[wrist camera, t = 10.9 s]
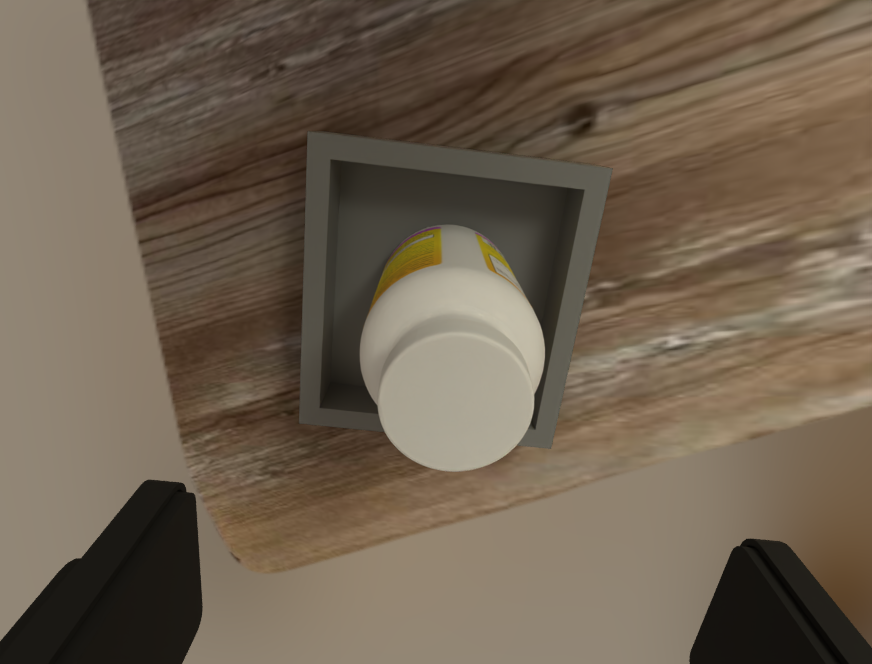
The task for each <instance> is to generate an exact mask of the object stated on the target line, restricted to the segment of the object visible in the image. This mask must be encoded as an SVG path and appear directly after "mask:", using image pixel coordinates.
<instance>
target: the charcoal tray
mask: <svg viewBox="0 0 872 664" xmlns="http://www.w3.org/2000/svg"><path fill="white" fill-rule="evenodd" d="M612 170H613V168H608V167H603V166H599V165H594V164H588V163H580V162H572V161H564V160H555V159H547V158H539V157H531V156H523V155H514V154H506V153H498V152H490V151H482V150H473V149H465V148H457V147H449V146H440V145H432V144H424V143H416V142H408V141H399V140H391V139H383V138H375V137H367V136H358V135H350V134H342V133H334V132H326V131H308V136H307V170H306V204H305V237H304V271H303V305H302V338H301V372H300V405H299V423H300V424H309V425H319V426H329V427H339V428H349V429H359V430H369V431H379V432H385V431H384V429H383V427H382V424H381V421H380V418H379V414H378V406H377V404H376V403H375V402H374V400H373V399H372V397H371V395H370V394H369V392H368V390H367V387H366V385H365V382H364V379H363V376H362V372H361V366H360V342H361V336H362V332H363V327H364V324H365V321H366V318H367V315H368V313H369V310H370V307H371V304H372V301H373V298H374V295H375V292H376V290H377V287H378V284H379V281H380V278H381V276H382V273H383V270H384V268H385V265H386V263H387V261H388V259H389V257H390V256H391V254H392V253H393V251H394V250H395V249H396V248H397V247H398V245H399V244H400V243H401V242H402V241H404V240H405V239H406V238H407V237H409V236H410V235H412V234H414V233H415V232H417V231H419V230H422V229H424V228H427V227H431V226H436V225H458V226H463V227H467V228H470V229H472V230H474V231H476V232H478V233H480V234H482V235H483V236H485V237H486V238H488V239H489V240H490V241H491V242H492V243H493V244H494V245H495V246H496V247H497V248H498V249H499V251H500V252H501V253H502V255H503V256H504V258H505V259H506V261H507V263H508V265H509V266H510V268H511V270H512V272H513V274H514V276H515V278H516V280H517V281H518V283H519V285H520V287H521V289H522V290H523V292H524V294H525V296H526V298H527V300H528V301H529V303H530V305H531V306H532V308H533V310H534V312H535V314H536V316H537V319H538V321H539V323H540V326H541V329H542V333H543V338H544V344H545V361H544V368H543V373H542V376H541V379H540V383H539V385H538V387H537V390H536V392H535V394H534V410H533V415H532V419H531V423H530V425H529V427H528V429H527V431H526V433H525V434H524V436H523V438H522V439H521V440H520V442H519V443H518V444H517V445H518V446H528V447H538V448H548V449H551V447H552V442H553V437H554V433H555V428H556V424H557V419H558V415H559V410H560V406H561V401H562V397H563V392H564V388H565V383H566V378H567V374H568V369H569V365H570V360H571V356H572V351H573V347H574V342H575V338H576V333H577V329H578V324H579V320H580V315H581V310H582V306H583V301H584V297H585V292H586V288H587V283H588V279H589V274H590V270H591V265H592V261H593V256H594V252H595V247H596V242H597V238H598V233H599V229H600V224H601V220H602V215H603V211H604V206H605V202H606V197H607V193H608V188H609V183H610V179H611V174H612Z"/></svg>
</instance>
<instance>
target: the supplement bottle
mask: <svg viewBox="0 0 872 664" xmlns="http://www.w3.org/2000/svg"><path fill="white" fill-rule="evenodd" d="M544 361H545V344H544V338H543V333H542V329H541V326H540V323H539V321H538V319H537V316H536V314H535V312H534V310H533V308H532V306H531V305H530V303H529V301H528V300H527V298H526V296H525V294H524V292H523V290H522V289H521V287H520V285H519V283H518V281H517V280H516V278H515V276H514V274H513V272H512V270H511V268H510V266H509V265H508V263H507V261H506V259H505V258H504V256H503V255H502V253H501V252H500V251H499V249H498V248H497V247H496V246H495V245H494V244H493V243H492V242H491V241H490V240H489V239H488V238H486V237H485V236H483V235H482V234H480V233H478V232H476V231H474V230H472V229H470V228H467V227H463V226H458V225H436V226H431V227H427V228H424V229H422V230H419V231H417V232H415V233H414V234H412V235H410V236H409V237H407V238H406V239H405V240H404V241H402V242H401V243H400V244H399V245H398V247H397V248H396V249H395V250H394V251H393V253H392V254H391V256H390V257H389V259H388V261H387V263H386V265H385V268H384V270H383V273H382V276H381V278H380V281H379V284H378V287H377V290H376V292H375V295H374V298H373V301H372V304H371V307H370V310H369V313H368V315H367V318H366V321H365V324H364V327H363V332H362V336H361V342H360V366H361V372H362V376H363V379H364V382H365V385H366V387H367V390H368V392H369V394H370V395H371V397H372V399H373V400H374V402H375V403H376V404H377V406H378V414H379V418H380V421H381V424H382V427H383V429H384V431H385V433H386V435H387V437H388V438H389V440H390V441H391V442H392V443H393V445H394V446H395V447H396V448H397V449H398V450H399V451H400V452H401V453H403V454H404V455H405V456H407V457H408V458H410V459H411V460H413V461H415V462H417V463H419V464H421V465H423V466H426V467H429V468H432V469H436V470H442V471H451V472H460V471H468V470H473V469H478V468H481V467H484V466H487V465H489V464H491V463H494V462H496V461H498V460H499V459H501V458H502V457H504V456H505V455H506V454H508V453H509V452H510V451H511V450H512V449H513V448H514V447H515V446H516V445H517V444H518V443H519V442H520V440H521V439H522V438H523V436H524V434H525V433H526V431H527V429H528V427H529V425H530V423H531V419H532V415H533V410H534V394H535V392H536V390H537V387H538V385H539V383H540V379H541V376H542V373H543V368H544Z"/></svg>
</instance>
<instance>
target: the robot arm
mask: <svg viewBox="0 0 872 664" xmlns="http://www.w3.org/2000/svg"><path fill="white" fill-rule="evenodd" d="M201 617H202V592H201V575H200V559H199V544H198V528H197V512H196V498H195V495H194V493H188V492H186V487H185V485H184V484H183V483H179V482H168V481H158V480H147V481H145V482H144V483H143V484H141V486H140V487H139V488H138V489H137V490H136V492H135V493H134V494H133V496H132V497H131V498H130V499H129V500H128V502H127V503H126V504H125V505H124V507H123V508H122V509H121V510H120V511H119V513H118V514H117V515H116V516H115V517H114V519H113V520H112V521H111V522H110V524H109V525H108V526H107V527H106V529H105V530H104V531H103V532H102V533H101V535H100V536H99V537H98V538H97V540H96V541H95V542H94V543H93V544H92V546H91V547H90V548H89V549H88V551H87V552H86V553H85V554H84V556H83V557H82V558H81V559H74V560H72V561H70V562H69V563H67V564H66V565H65V566H64V567H63V568H62V569H61V570H60V571H59V572H58V573H57V575H56V576H55V577H54V578H53V579H52V580H51V582H50V583H49V584H48V585H47V586H46V588H45V589H44V590H43V591H42V592H41V594H40V595H39V596H38V597H37V598H36V600H35V601H34V602H33V603H32V604H31V605H30V607H29V608H28V609H27V610H26V611H25V613H24V614H23V615H22V616H21V617H20V619H19V620H18V621H17V622H16V623H15V625H14V626H13V627H12V628H11V629H10V631H9V632H8V633H7V634H6V635H5V636H4V638H3V639H2V640H1V641H0V664H182V662H183V661H184V658H185V656H186V654H187V652H188V650H189V648H190V646H191V644H192V642H193V639H194V637H195V635H196V633H197V631H198V628H199V625H200V621H201ZM690 664H872V648H871V646H870V645H869V644H868V643H867V642H866V640H865V639H864V638H863V637H862V635H861V634H860V633H859V632H858V631H857V629H856V628H855V627H854V626H853V624H852V623H851V622H850V621H849V619H848V618H847V617H846V616H845V614H844V613H843V612H842V611H841V610H840V608H839V607H838V606H837V605H836V603H835V602H834V601H833V600H832V598H831V597H830V596H829V595H828V594H827V592H826V591H825V590H824V589H823V587H822V586H821V585H820V584H819V582H818V581H817V580H816V579H815V578H814V576H813V575H812V574H811V573H810V571H809V570H808V569H807V568H806V566H805V565H804V564H803V563H802V562H801V560H800V559H799V558H798V557H797V555H796V554H795V553H794V552H793V550H792V549H791V548H790V547H789V546H788V545H787V544H785V543H783V542H780V541H770V540H760V539H746V540H744V541H743V542H742V544H741V545H740V546H737V547H735V548H734V549H733V550H732V552H731V554H730V557H729V559H728V562H727V564H726V567H725V569H724V571H723V574H722V576H721V579H720V581H719V584H718V586H717V588H716V591H715V593H714V596H713V598H712V601H711V603H710V606H709V608H708V610H707V613H706V615H705V618H704V620H703V623H702V625H701V627H700V630H699V632H698V635H697V637H696V640H695V642H694V644H693V647H692V649H691V652H690Z"/></svg>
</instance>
